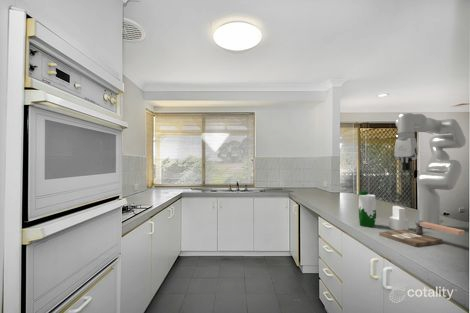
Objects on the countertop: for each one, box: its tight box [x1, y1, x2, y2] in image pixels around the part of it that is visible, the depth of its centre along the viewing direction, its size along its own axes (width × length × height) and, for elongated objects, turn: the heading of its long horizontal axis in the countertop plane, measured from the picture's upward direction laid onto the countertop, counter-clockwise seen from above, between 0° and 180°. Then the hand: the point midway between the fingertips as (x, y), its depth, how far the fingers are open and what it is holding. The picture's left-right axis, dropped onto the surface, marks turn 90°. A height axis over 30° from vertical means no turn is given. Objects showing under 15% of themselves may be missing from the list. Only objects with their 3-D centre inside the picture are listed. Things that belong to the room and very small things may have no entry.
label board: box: [378, 225, 444, 248], centre depth 120 cm, size 18×18×6 cm
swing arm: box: [415, 220, 466, 236], centre depth 115 cm, size 19×4×2 cm, turn 19°
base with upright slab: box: [388, 205, 410, 231], centre depth 138 cm, size 9×9×12 cm
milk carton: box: [358, 190, 377, 228], centre depth 145 cm, size 9×9×20 cm
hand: (406, 170), depth 132 cm, fingers closed
